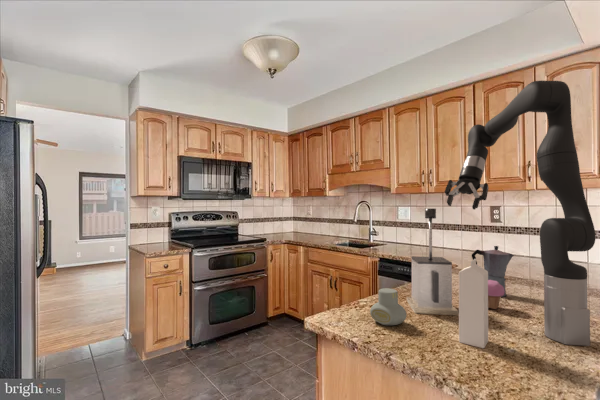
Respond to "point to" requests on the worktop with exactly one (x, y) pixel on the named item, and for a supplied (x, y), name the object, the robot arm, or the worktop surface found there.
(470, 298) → the milk
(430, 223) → the joystick lever
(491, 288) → the cupcake
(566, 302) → the robot arm
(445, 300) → the arcade joystick
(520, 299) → the worktop surface
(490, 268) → the moka pot
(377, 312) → the air freshener
